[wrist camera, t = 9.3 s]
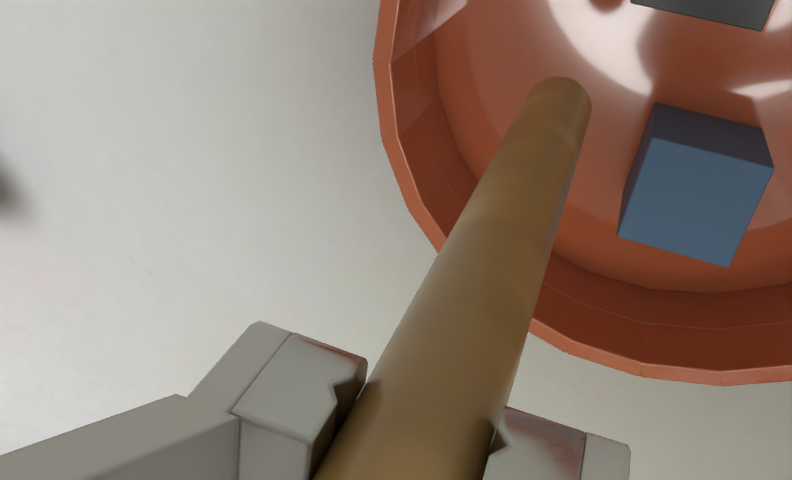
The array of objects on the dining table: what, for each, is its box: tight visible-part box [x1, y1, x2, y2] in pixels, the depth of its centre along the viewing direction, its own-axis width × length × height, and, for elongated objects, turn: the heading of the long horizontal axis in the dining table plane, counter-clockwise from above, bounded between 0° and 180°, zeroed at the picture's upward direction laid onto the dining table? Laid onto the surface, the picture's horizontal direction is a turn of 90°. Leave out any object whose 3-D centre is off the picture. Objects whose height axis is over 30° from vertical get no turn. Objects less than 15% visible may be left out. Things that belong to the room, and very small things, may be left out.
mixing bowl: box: [373, 0, 792, 386], centre depth 25 cm, size 21×21×6 cm
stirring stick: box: [311, 76, 592, 480], centre depth 13 cm, size 2×2×18 cm
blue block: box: [617, 102, 774, 268], centre depth 27 cm, size 4×4×4 cm
